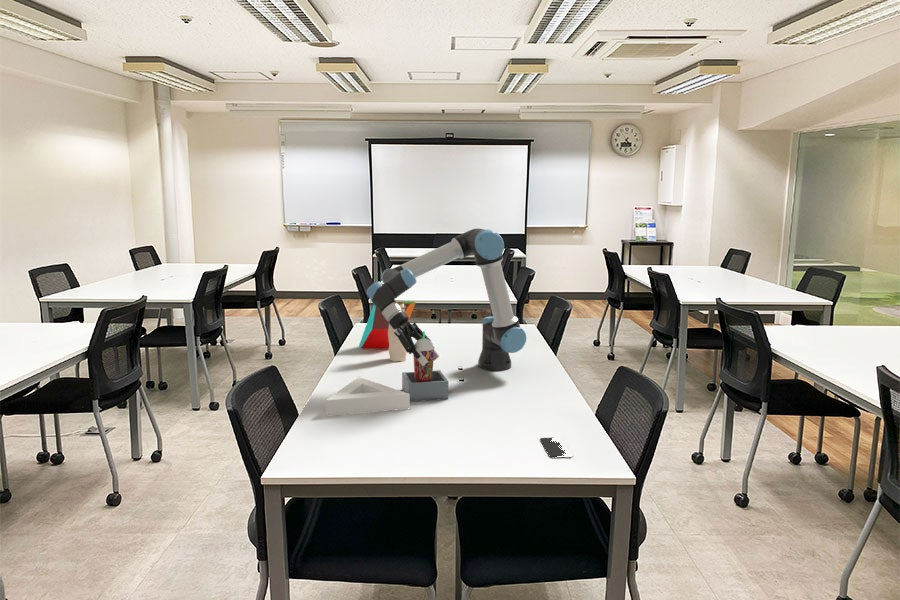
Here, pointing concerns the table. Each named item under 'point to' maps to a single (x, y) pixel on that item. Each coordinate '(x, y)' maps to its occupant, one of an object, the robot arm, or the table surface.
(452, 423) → the table surface
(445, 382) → the tray
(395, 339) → the water bottle
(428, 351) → the smoothie
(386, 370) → the table surface
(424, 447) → the table surface
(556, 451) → the phone
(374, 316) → the gem
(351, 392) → the triangle block
